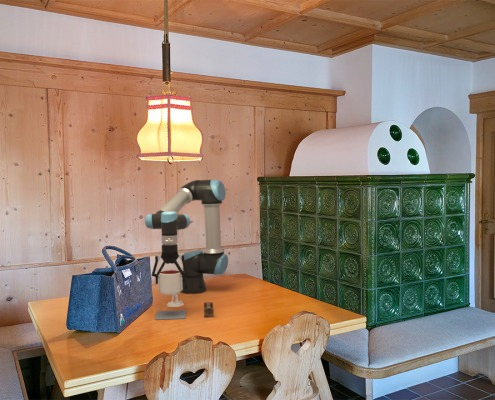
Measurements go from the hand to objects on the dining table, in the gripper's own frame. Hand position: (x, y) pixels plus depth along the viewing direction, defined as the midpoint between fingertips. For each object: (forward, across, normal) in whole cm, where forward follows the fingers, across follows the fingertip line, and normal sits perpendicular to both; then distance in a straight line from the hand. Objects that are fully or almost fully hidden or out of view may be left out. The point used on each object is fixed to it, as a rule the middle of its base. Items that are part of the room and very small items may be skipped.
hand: (170, 290), depth 229 cm
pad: (+12, 0, 0) cm, 12 cm away
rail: (+12, +18, 0) cm, 22 cm away
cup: (+2, 0, 0) cm, 2 cm away
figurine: (+12, +1, +20) cm, 23 cm away
